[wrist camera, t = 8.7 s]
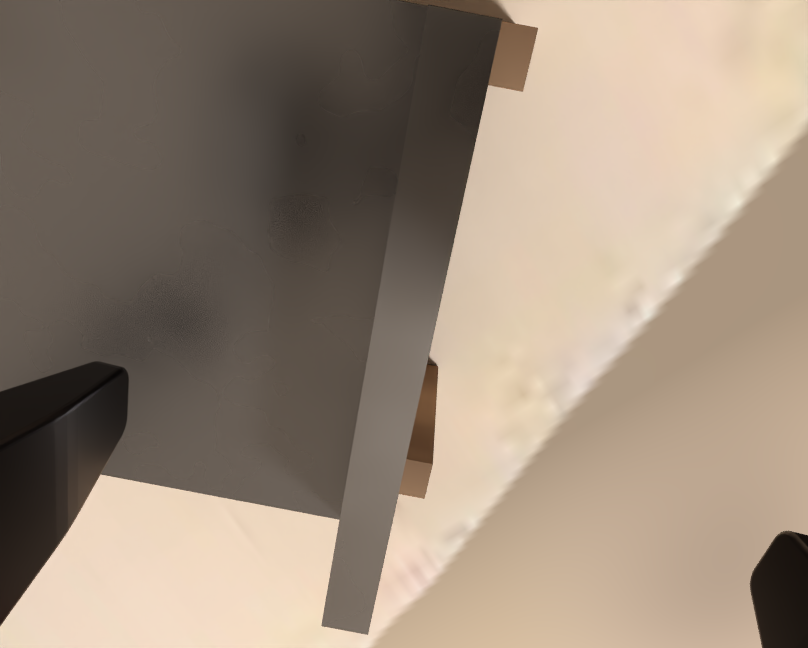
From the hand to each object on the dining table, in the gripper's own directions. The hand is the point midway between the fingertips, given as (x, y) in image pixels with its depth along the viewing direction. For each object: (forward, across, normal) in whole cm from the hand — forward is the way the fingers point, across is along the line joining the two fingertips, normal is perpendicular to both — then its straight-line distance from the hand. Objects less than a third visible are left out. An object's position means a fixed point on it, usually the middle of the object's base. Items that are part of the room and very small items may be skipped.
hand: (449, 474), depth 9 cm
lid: (+7, +9, +1) cm, 11 cm away
